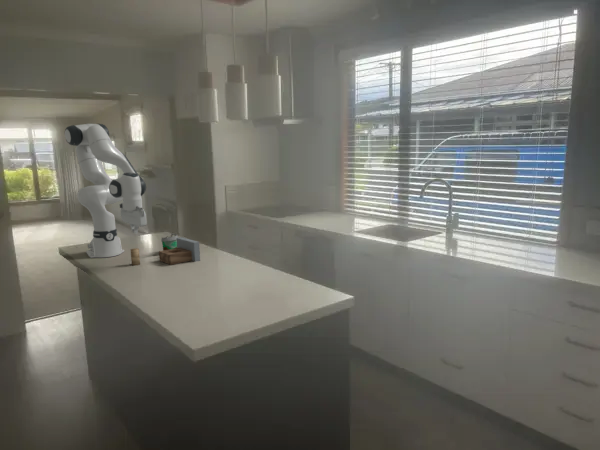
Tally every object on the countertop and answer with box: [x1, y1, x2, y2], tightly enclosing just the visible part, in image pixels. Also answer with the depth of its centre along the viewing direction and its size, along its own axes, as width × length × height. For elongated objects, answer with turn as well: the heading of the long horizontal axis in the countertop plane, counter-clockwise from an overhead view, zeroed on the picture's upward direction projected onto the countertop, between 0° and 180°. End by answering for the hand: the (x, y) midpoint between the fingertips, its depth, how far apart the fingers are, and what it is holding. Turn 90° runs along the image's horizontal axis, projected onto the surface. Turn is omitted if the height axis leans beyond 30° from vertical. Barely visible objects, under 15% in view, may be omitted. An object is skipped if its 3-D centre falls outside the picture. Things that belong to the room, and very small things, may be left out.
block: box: [158, 248, 192, 266], centre depth 228 cm, size 12×12×5 cm
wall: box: [177, 236, 201, 262], centre depth 233 cm, size 18×3×10 cm, turn 44°
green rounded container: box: [161, 233, 179, 251], centre depth 245 cm, size 12×6×10 cm, turn 168°
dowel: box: [130, 247, 141, 267], centre depth 223 cm, size 4×4×8 cm
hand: (134, 232), depth 221 cm, fingers closed
